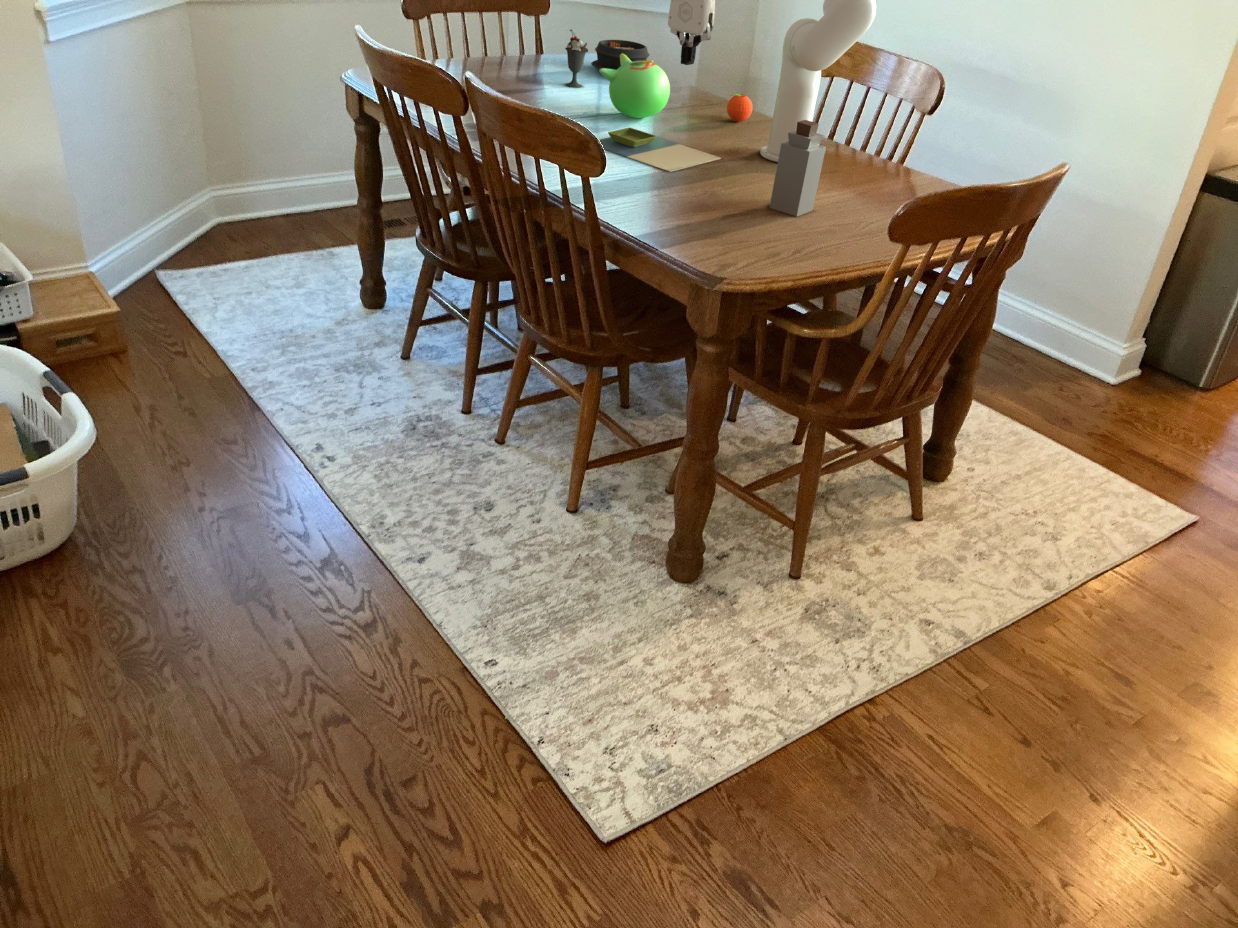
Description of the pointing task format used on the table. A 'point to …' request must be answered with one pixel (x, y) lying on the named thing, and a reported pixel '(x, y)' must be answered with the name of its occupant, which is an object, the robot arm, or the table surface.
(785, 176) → the perfume bottle
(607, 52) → the casserole
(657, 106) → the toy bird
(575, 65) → the sundae
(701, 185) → the table surface
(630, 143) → the green square dish
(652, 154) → the placemat
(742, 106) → the clementine
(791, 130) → the robot arm
